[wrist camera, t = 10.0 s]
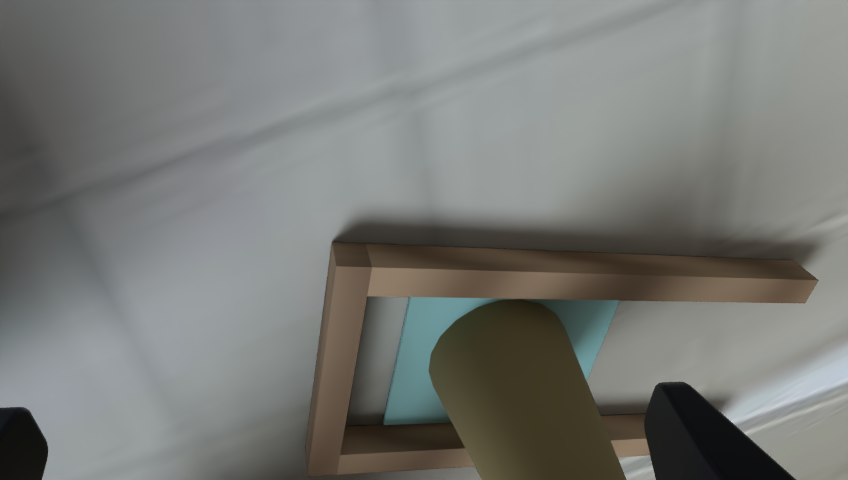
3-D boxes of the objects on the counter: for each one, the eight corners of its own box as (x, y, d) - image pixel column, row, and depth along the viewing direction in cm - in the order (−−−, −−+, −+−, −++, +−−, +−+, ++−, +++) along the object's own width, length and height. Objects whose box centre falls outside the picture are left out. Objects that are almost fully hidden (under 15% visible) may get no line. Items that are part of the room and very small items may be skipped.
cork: (401, 388, 27) (476, 676, 18) (482, 278, 24) (617, 542, 15) (511, 421, 29) (626, 686, 20) (594, 325, 27) (763, 574, 18)
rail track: (305, 447, 28) (307, 476, 26) (331, 242, 22) (336, 266, 21) (700, 428, 33) (717, 451, 32) (793, 260, 28) (818, 280, 27)
